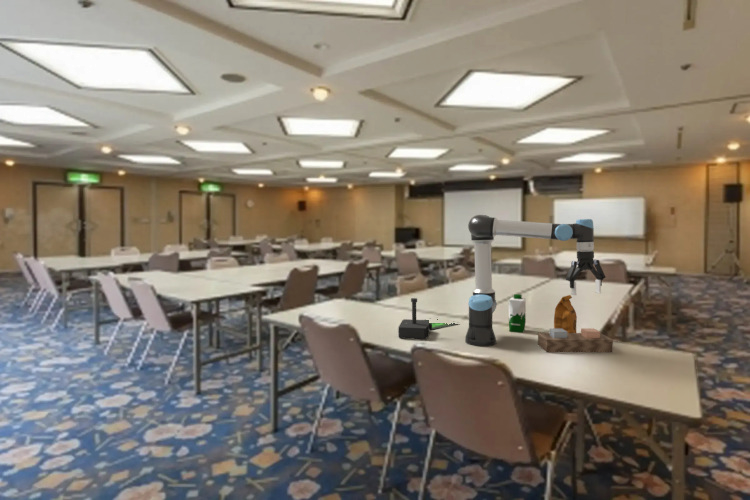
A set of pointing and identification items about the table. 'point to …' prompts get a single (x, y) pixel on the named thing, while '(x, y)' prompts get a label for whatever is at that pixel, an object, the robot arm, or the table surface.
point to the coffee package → (565, 315)
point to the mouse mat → (441, 325)
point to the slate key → (558, 333)
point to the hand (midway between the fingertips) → (586, 293)
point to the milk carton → (517, 313)
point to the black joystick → (414, 326)
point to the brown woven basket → (575, 343)
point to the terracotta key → (590, 333)
